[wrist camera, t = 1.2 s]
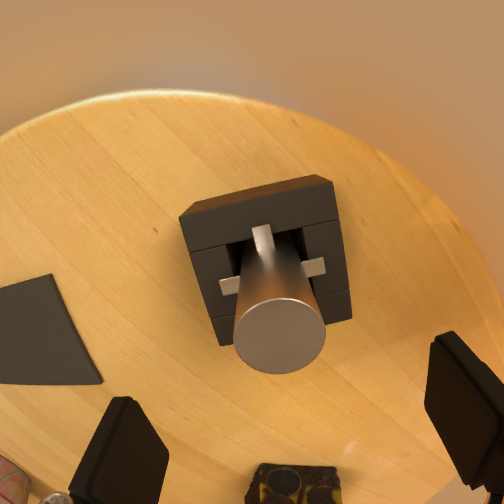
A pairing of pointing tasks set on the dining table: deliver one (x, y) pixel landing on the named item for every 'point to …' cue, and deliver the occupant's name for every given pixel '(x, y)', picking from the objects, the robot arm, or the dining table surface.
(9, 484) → the potted plant
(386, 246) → the dining table surface
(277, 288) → the bronze metal rod
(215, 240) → the dark square ring block
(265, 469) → the candle
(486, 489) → the robot arm
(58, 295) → the mat
